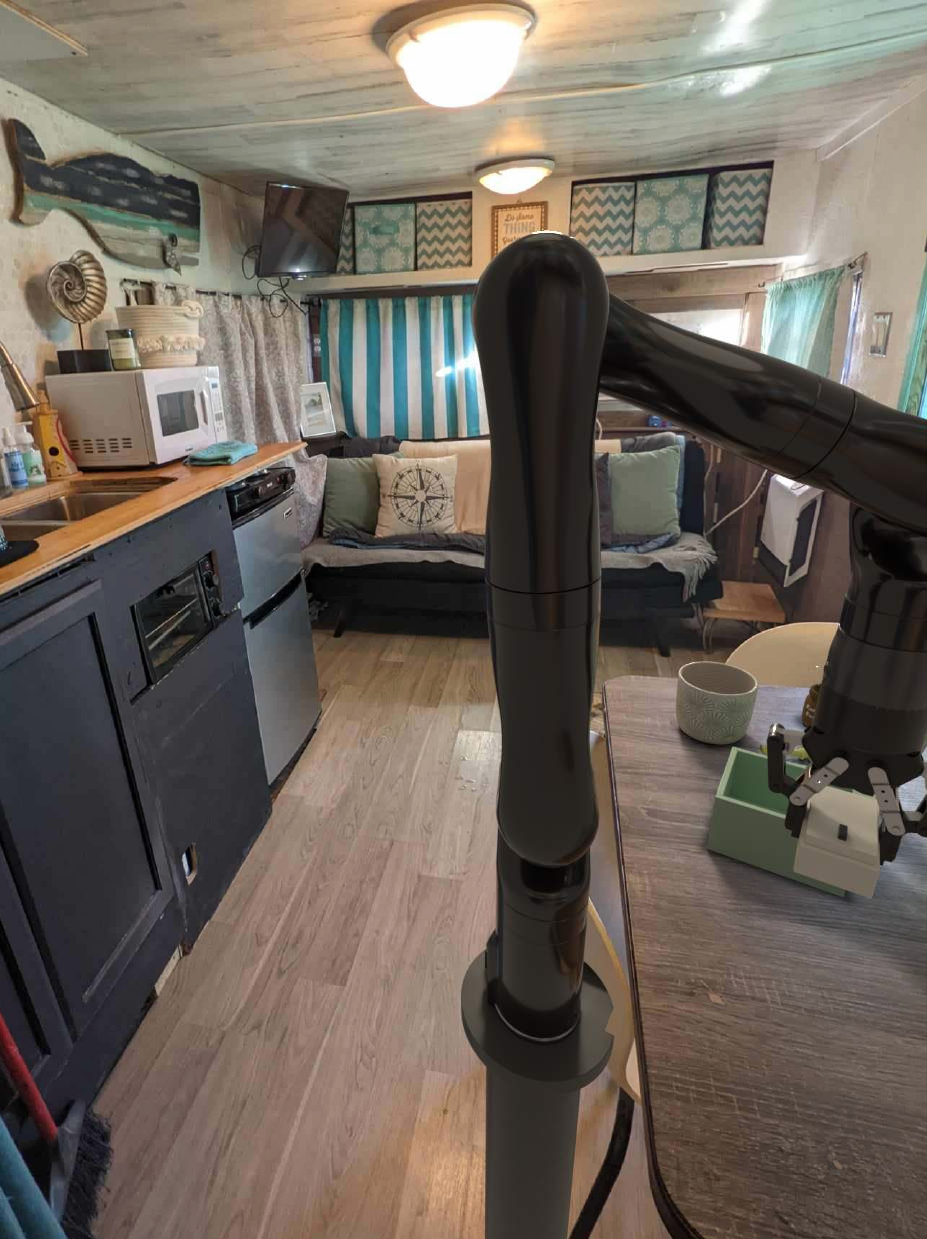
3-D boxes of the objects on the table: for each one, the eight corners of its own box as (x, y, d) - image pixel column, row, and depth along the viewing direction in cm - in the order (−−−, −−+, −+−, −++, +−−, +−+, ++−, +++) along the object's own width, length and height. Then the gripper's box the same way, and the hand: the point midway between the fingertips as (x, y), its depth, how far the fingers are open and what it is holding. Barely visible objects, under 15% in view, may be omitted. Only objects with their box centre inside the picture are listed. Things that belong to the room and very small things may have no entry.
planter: (746, 759, 106) (756, 702, 102) (666, 740, 112) (673, 685, 108) (751, 723, 116) (761, 669, 112) (677, 707, 122) (684, 655, 118)
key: (753, 754, 107) (755, 744, 106) (819, 745, 109) (822, 734, 108) (785, 781, 100) (787, 770, 100) (854, 770, 102) (857, 759, 101)
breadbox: (706, 848, 88) (715, 796, 85) (724, 794, 98) (732, 746, 95) (843, 897, 79) (858, 841, 76) (847, 832, 90) (861, 780, 86)
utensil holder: (802, 712, 118) (814, 654, 114) (843, 722, 114) (857, 662, 110) (798, 727, 114) (810, 667, 109) (840, 738, 110) (855, 676, 106)
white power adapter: (871, 899, 53) (884, 857, 52) (793, 871, 56) (802, 831, 55) (872, 828, 61) (883, 790, 59) (803, 807, 64) (811, 770, 62)
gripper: (989, 685, 51) (933, 851, 57) (782, 646, 59) (752, 795, 65) (1003, 730, 45) (939, 908, 52) (772, 680, 53) (740, 840, 60)
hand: (835, 844), depth 58 cm, fingers closed on white power adapter, 5 cm apart
